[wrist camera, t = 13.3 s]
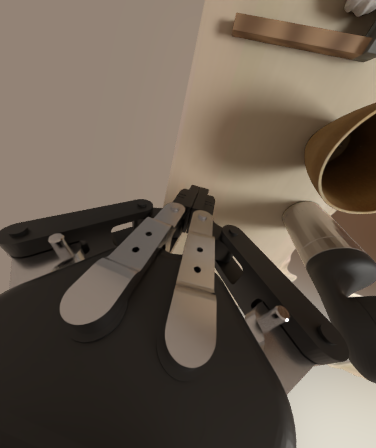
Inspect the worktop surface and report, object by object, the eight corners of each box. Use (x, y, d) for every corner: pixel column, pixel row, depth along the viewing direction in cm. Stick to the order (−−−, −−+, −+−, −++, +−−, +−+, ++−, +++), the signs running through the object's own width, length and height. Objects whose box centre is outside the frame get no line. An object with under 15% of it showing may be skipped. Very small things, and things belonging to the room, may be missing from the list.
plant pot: (338, 184, 34) (400, 223, 21) (273, 172, 36) (296, 203, 23) (404, 102, 25) (579, 89, 12) (312, 92, 26) (384, 72, 14)
